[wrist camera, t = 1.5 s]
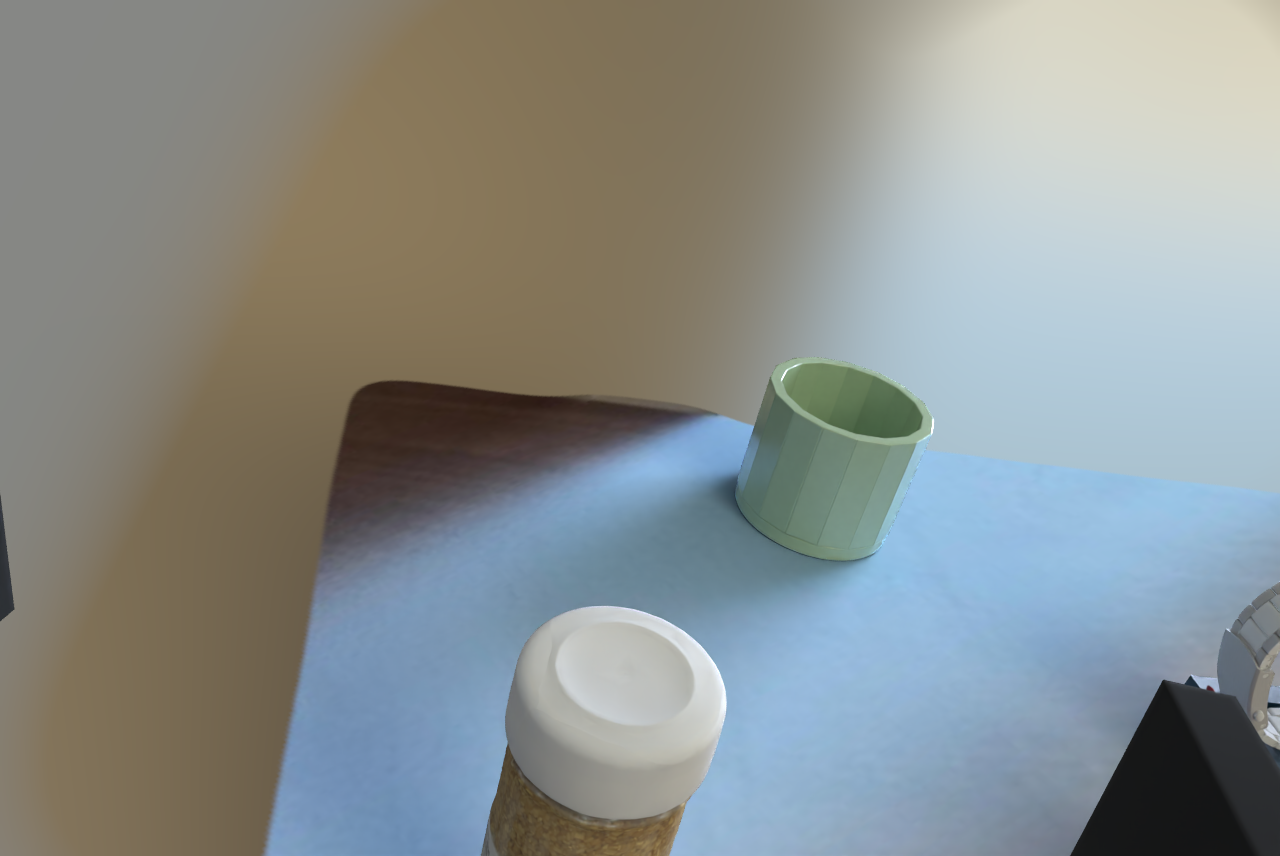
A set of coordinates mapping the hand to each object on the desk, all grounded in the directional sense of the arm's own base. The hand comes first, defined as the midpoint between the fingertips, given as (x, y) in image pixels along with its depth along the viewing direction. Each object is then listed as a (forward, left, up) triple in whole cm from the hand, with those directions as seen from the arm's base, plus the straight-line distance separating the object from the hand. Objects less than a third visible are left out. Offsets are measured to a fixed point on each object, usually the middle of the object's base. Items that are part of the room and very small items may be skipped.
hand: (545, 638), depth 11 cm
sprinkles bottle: (-3, +7, -21) cm, 22 cm away
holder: (-12, +36, -20) cm, 43 cm away
